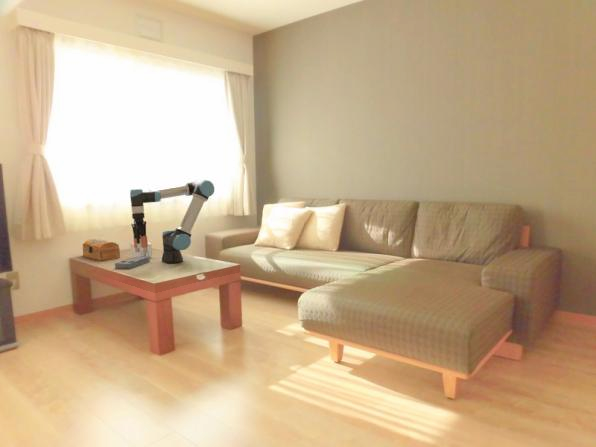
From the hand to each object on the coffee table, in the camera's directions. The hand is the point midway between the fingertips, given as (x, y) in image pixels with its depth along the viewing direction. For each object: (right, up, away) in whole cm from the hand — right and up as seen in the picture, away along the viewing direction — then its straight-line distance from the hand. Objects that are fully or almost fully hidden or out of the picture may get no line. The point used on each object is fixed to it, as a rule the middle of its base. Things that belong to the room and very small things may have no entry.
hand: (141, 247), depth 275 cm
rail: (-13, -13, +18) cm, 26 cm away
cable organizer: (-16, -11, +44) cm, 48 cm away
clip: (0, -3, 0) cm, 3 cm away
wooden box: (-49, -11, +47) cm, 69 cm away
